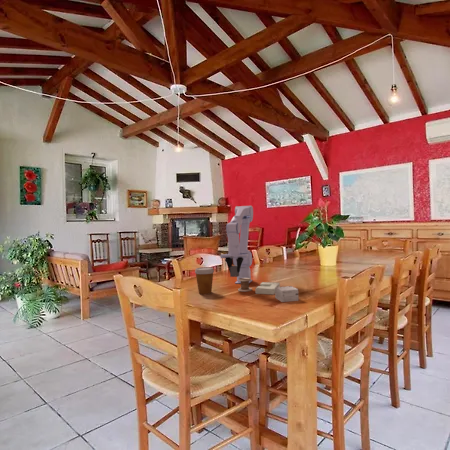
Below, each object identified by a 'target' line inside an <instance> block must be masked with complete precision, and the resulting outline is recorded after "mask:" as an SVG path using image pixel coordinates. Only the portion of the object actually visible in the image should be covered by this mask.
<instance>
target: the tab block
mask: <svg viewBox="0 0 450 450" xmlns="http://www.w3.org/2000/svg"><path fill="white" fill-rule="evenodd" d="M229 275H230V278H231V277H232V278H237V277H238V276H239V273H237V266H235V265H232V266H231V267H230V271H229Z"/></svg>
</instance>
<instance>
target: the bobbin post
mask: <svg viewBox="0 0 450 450" xmlns="http://www.w3.org/2000/svg"><path fill="white" fill-rule="evenodd" d="M250 280H252V278H251V279H250V278H240V279H239V281H241V283H240V287H239V288H238V289H237V290H238V292H252V291H253V288H252V287H250V283H249V281H250Z"/></svg>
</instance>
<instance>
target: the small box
mask: <svg viewBox="0 0 450 450" xmlns="http://www.w3.org/2000/svg"><path fill="white" fill-rule="evenodd" d="M274 297H275V299H276V300H278V301H279V302H281V303H289V302H296V301H297V302H299V288H296V287H294V286H292V285H288V286H280V287H275V294H274Z"/></svg>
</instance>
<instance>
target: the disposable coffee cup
mask: <svg viewBox="0 0 450 450" xmlns="http://www.w3.org/2000/svg"><path fill="white" fill-rule="evenodd" d="M214 272H215V270H214V268H213V267H210V266H207V267H196V268H195V270H194V274H195V278H196V285H197V291H198V294H199V295H207V294H208V295H209V294H211V293H212V291H213V289H212V288H213V280H214V279H213V278H214Z"/></svg>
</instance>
